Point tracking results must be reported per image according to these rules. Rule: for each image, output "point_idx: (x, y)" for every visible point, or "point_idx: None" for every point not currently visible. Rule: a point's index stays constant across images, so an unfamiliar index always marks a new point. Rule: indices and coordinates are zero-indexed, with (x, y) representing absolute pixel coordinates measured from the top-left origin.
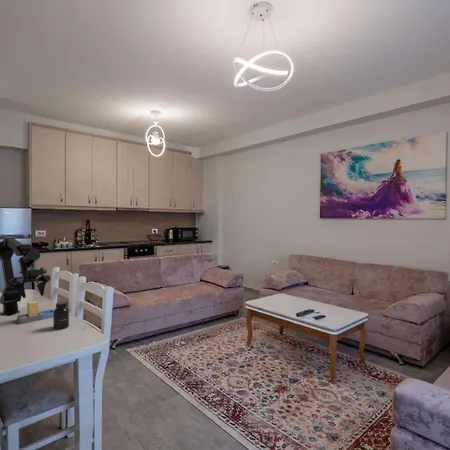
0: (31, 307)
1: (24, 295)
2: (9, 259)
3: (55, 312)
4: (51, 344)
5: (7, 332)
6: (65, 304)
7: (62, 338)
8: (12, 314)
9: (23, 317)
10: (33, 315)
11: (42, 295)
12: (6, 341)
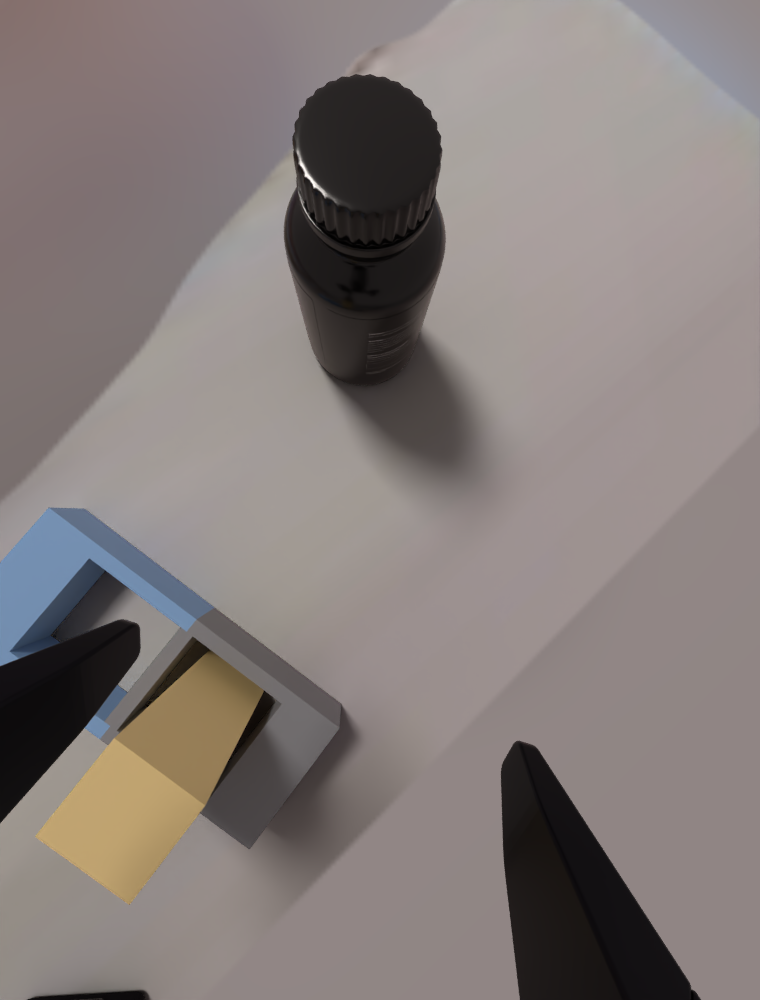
0: (206, 752)
1: (564, 792)
2: None
3: (442, 257)
4: (635, 223)
5: (513, 653)
6: (376, 92)
7: (544, 211)
8: (122, 994)
9: (293, 738)
10: (227, 688)
11: (137, 628)
12: (645, 528)
